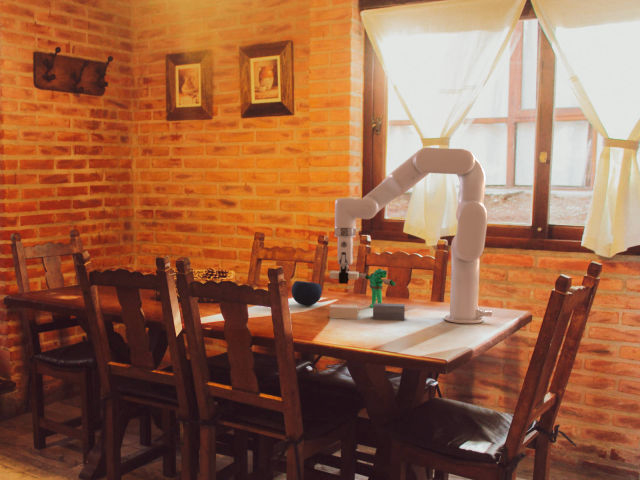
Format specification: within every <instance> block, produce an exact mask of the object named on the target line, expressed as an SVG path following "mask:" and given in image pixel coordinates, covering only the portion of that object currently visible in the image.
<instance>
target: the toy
mask: <svg viewBox="0 0 640 480" xmlns="http://www.w3.org/2000/svg"><path fill="white" fill-rule="evenodd" d="M388 273H389V272H388V270H387V269H386V270H384V269H382V268H378V269H375V270H374V272H372V273H371V274H367V273H365V272H362V271H360V272H359V277H358V278H361V279H363V280H366V281H367V280H368V281H369V288H370V289H371V303H370V304H369V308H372V309H373V304H374V303H383V294H382V292H383V291H382V289H383V287H384V286H383V284H384V285H385V286H386V285H387V286H390V287H392V286H393V287H396V282H395V281H394V280H393V279H388V278H387V275H388Z"/></svg>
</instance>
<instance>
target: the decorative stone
mask: <svg viewBox="0 0 640 480" xmlns="http://www.w3.org/2000/svg"><path fill="white" fill-rule="evenodd" d="M322 294H323V288H322V286H321V284H320V283H317V282H310V281H302V280H295V281H294V282H293V284H292V286H291V296H292V298H293V300H294V301H295V302H296V303H297V304H299V305H300V306H305V307H309V306H313V305H315V304H317V303H318V302H319V300H321V298H322Z"/></svg>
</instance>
